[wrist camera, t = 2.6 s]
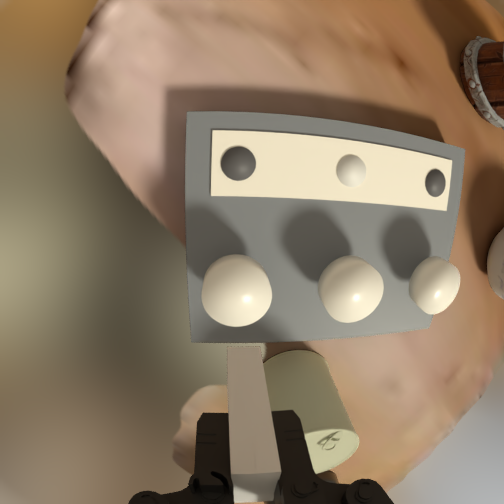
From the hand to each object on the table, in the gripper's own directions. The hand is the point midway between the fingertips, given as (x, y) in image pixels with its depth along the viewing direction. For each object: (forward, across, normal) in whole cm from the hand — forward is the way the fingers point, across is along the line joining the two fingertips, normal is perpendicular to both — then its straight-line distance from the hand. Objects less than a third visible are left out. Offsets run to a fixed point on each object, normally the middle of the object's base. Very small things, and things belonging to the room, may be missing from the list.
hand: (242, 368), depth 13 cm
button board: (+15, -9, -2) cm, 18 cm away
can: (+15, -7, +16) cm, 23 cm away
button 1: (+10, -18, 0) cm, 21 cm away
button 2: (+10, 0, 0) cm, 10 cm away
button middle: (+10, -9, 0) cm, 13 cm away
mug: (+16, -31, -22) cm, 41 cm away
